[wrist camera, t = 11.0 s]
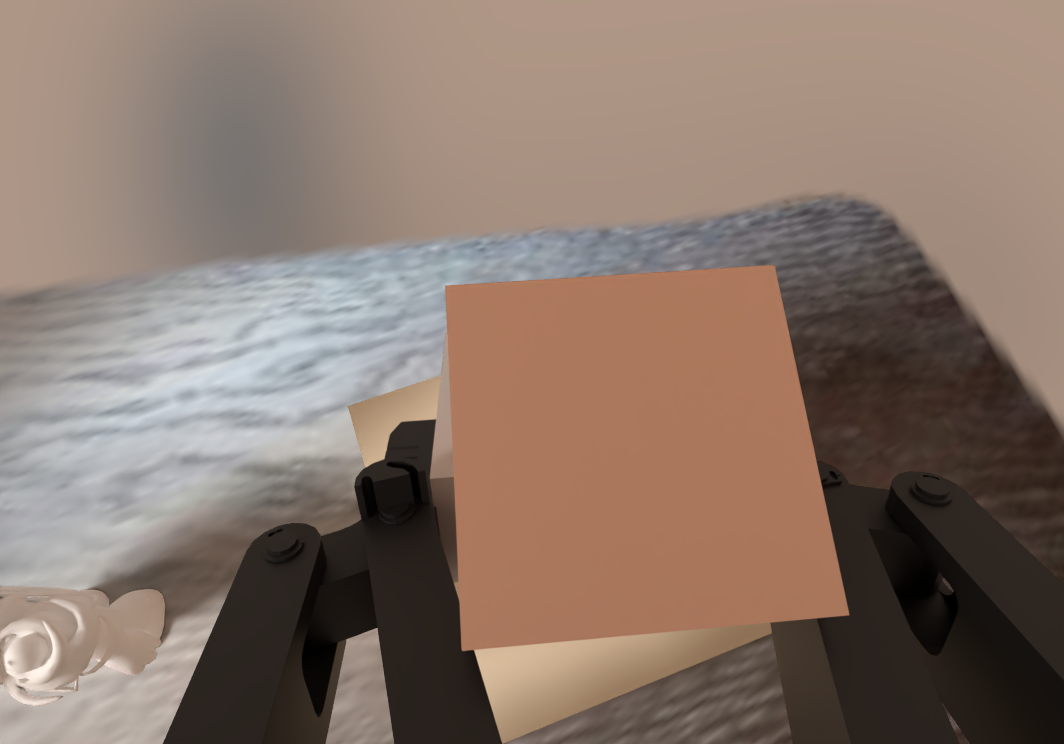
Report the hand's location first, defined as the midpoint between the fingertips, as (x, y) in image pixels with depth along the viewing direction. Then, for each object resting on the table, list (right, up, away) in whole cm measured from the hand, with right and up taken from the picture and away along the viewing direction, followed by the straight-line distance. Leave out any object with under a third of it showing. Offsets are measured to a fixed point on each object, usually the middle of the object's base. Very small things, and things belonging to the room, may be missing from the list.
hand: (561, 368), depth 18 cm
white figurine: (-18, -10, +7) cm, 22 cm away
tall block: (0, -4, +2) cm, 5 cm away
